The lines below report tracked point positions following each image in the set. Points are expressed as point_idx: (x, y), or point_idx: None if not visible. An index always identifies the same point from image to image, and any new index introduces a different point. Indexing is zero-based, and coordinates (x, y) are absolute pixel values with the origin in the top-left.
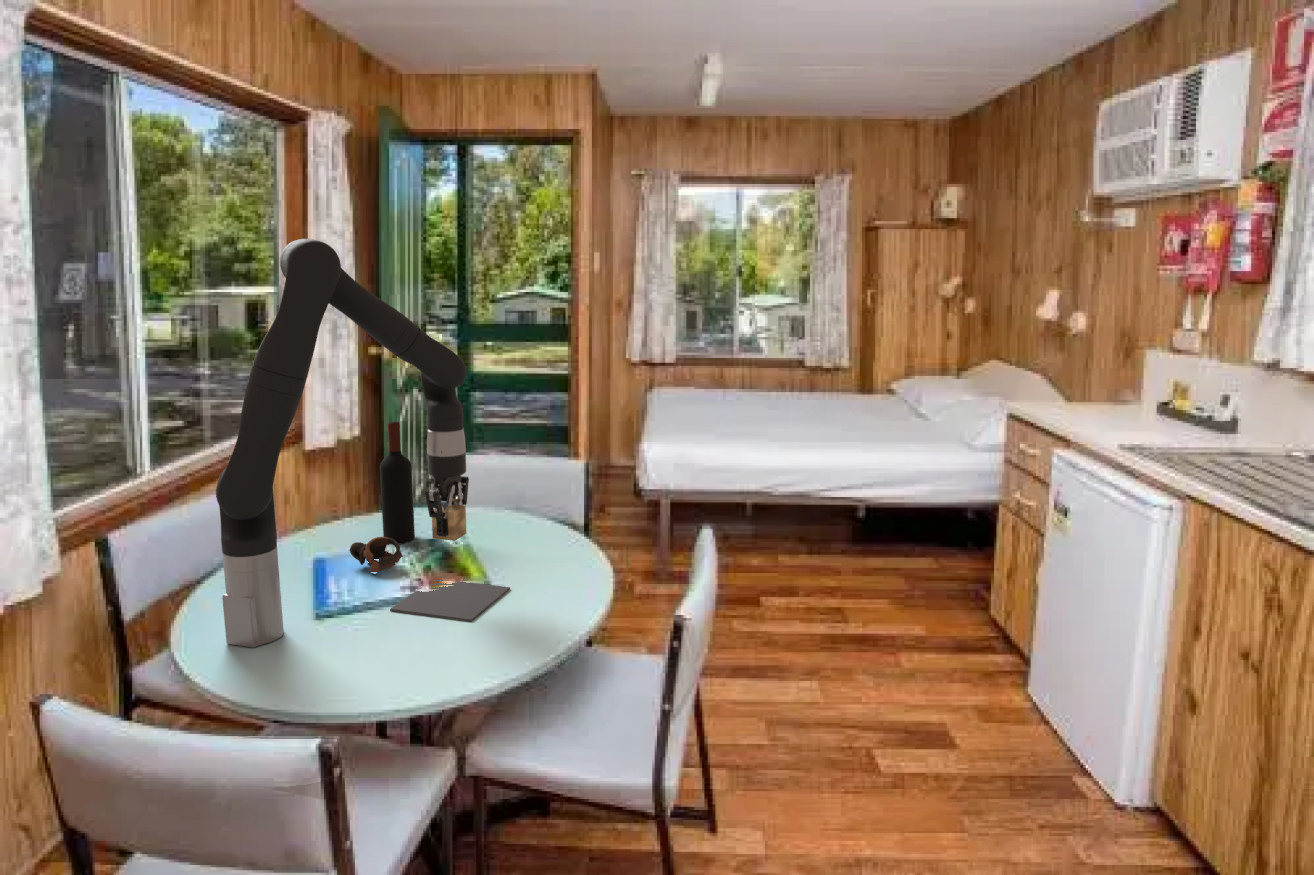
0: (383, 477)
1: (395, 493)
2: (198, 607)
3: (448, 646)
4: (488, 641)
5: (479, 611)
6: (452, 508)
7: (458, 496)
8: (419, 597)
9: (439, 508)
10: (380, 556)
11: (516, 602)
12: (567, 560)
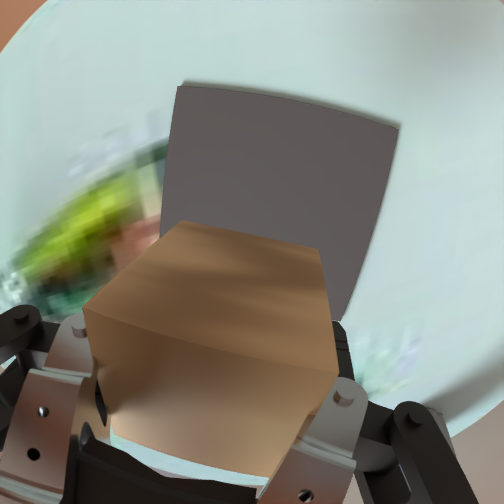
0: None
1: None
2: None
3: (496, 160)
4: (474, 85)
5: (350, 117)
6: (204, 400)
7: (74, 433)
8: None
9: (453, 470)
10: None
11: (262, 46)
12: (30, 57)
